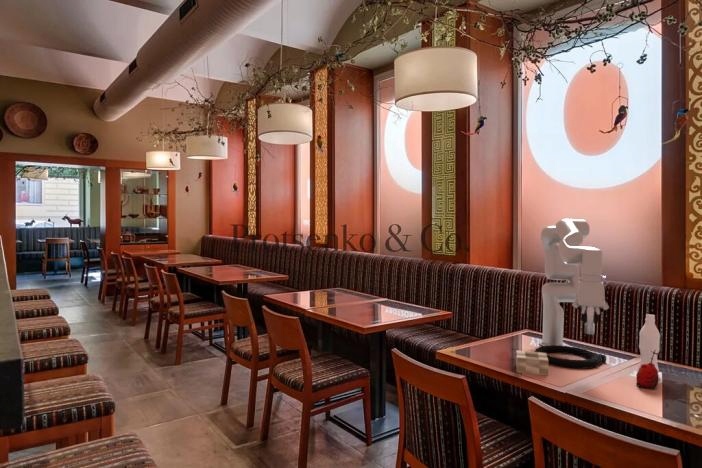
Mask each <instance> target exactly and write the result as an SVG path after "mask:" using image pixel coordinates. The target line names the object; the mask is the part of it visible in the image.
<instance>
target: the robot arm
mask: <svg viewBox="0 0 702 468" xmlns="http://www.w3.org/2000/svg"><path fill="white" fill-rule="evenodd" d="M590 231H591V230H590V224H589V223H588V222H587V220H585V219H582V218H581V219H576V218H575V219H573V218H570V219H569V218H563V219H561V220H559V221H557V222H556V224H555V225H550V226H549V225H548V226H546V227H543V228H542V229H541V232H540V241H541V244H542V248H543V250H544V251H543V252H544V275H545V277H546V278H547V279H548V280H554V281H567V282H551V281H550V282H547V283H544V284H543V285H542V287H541V295H542V340H539V342H538V345H540V346H541V347H543V346H551V345H556V346H567V344H566V342H564V315H565V313H564V308H563V307H562V306H561V305H560V303H572V304H571V305H572V307H573V308H575V309H577V310H578V311H579V312H580V315H581V316H580V320H581V322H582V323H583V324H584V325H585V323H586V314H585V308H586V306H592V307H595V325H598V323H599V322H600V321H599V320H600V314H601V313H603V312H604V311H606V310H608V309H610V306H609V304H608V303H607V301H606V296H605V295H606V294H605V286H604V282H603V281H605V280H606V279H607V278H606V276H604V275H602V274H603V273H602V271H603V251H602V250H601V249H600V248H596V247H593V246H580V245H582V243H583V241H584V239H586V238H587V237H588V236H589V234H590ZM579 265H581V266H580V268H581V269H580V268H579Z"/></svg>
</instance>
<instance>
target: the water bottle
mask: <svg viewBox="0 0 702 468" xmlns="http://www.w3.org/2000/svg"><path fill="white" fill-rule="evenodd" d="M644 321H645V322H644V325H643V326H642V327H641V329H640V330H639V342H638V343H639V344H638V348H639V352H640V361H639V364H638V366H637V367H638V369H637V370H639V368H640V367H641V365H642V364H649V363H650V362H651V358H652V356H653V352H654V351H655V350H656V351H655V353H658V354H659V352H660V343H661V341H660V339H661V334H660V332H659V329H658V327H657V325H656V315H655V314H649V313H646V314H645V319H644ZM651 351H652V352H651ZM652 364H654V365H655V368H656V369H657V371H658V374H659V373H660V370H659V369H660V368H659V365H658V355H656V354H654V356H653V360H652Z"/></svg>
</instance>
